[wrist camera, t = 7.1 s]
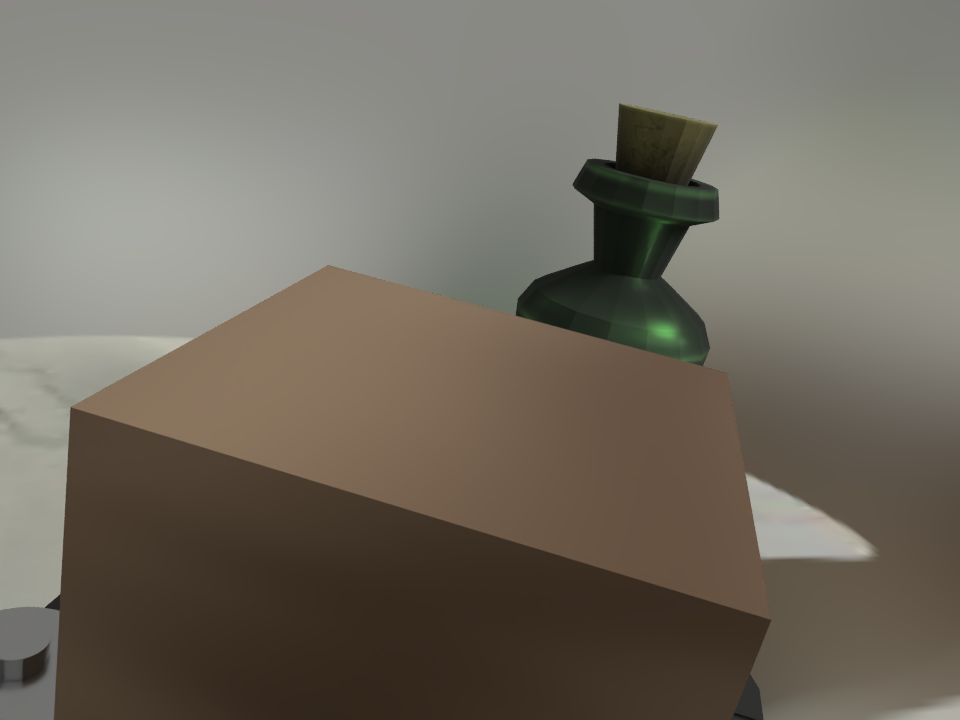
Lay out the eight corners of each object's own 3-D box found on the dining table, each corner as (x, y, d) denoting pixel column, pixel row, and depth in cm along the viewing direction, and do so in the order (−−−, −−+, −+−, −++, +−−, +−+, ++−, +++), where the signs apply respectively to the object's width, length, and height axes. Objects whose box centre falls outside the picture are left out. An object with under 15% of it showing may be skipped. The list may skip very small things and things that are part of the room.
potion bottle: (491, 460, 44) (577, 91, 38) (651, 506, 43) (765, 133, 37) (451, 537, 36) (549, 91, 30) (644, 595, 35) (786, 144, 29)
